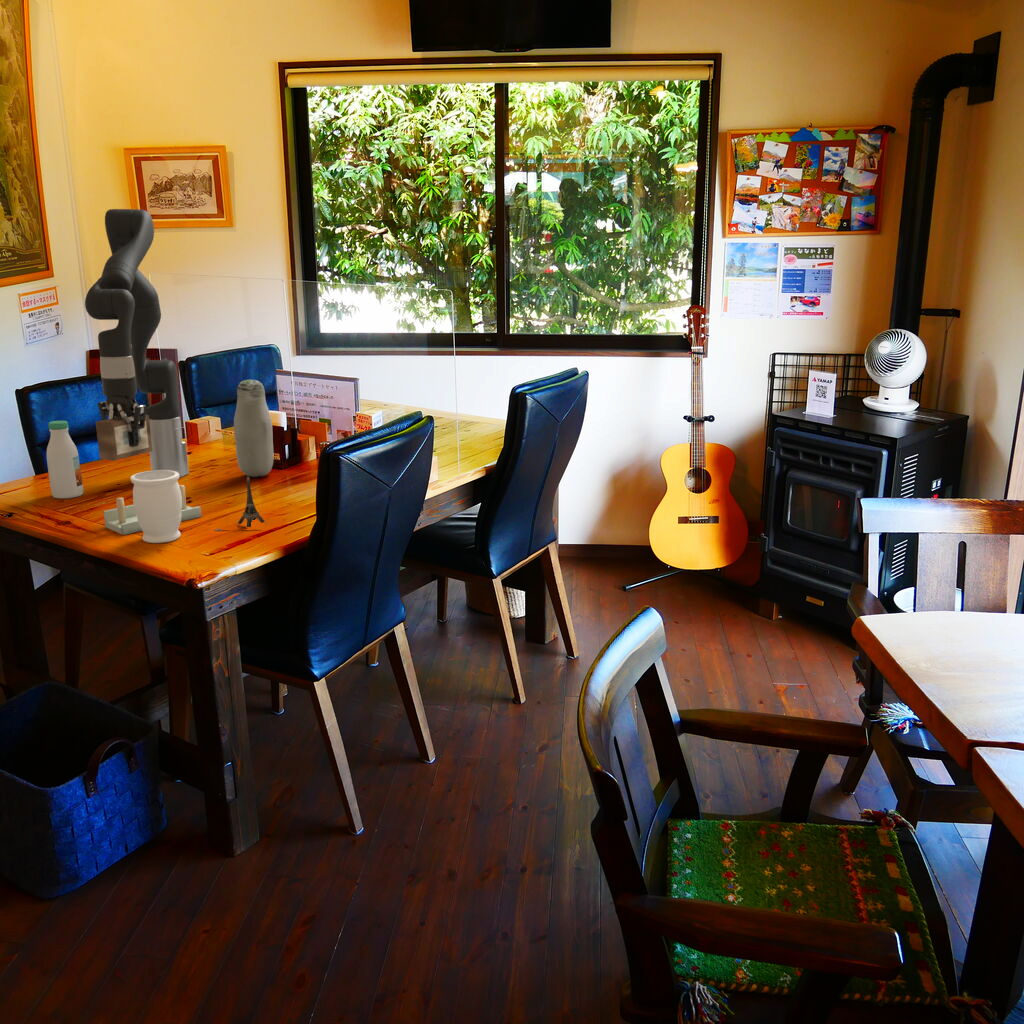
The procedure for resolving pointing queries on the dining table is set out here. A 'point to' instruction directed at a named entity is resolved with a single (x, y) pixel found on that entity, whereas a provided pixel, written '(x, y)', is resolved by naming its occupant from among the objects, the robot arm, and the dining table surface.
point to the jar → (158, 504)
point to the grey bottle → (253, 430)
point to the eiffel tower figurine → (249, 509)
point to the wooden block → (121, 439)
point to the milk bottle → (63, 463)
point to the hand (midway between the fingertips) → (126, 445)
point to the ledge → (127, 520)
